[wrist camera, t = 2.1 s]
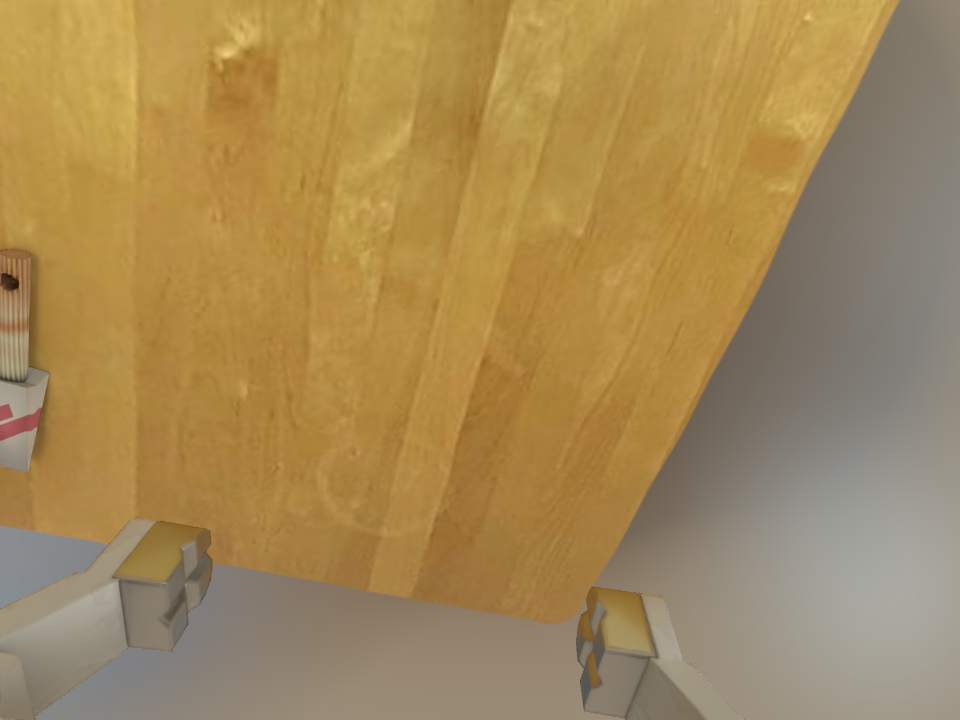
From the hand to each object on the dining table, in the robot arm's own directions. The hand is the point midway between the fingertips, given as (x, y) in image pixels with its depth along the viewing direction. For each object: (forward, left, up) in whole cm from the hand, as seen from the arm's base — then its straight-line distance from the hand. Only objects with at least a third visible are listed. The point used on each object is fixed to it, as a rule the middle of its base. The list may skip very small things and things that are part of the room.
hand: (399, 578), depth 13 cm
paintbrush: (-15, -35, -34) cm, 51 cm away
